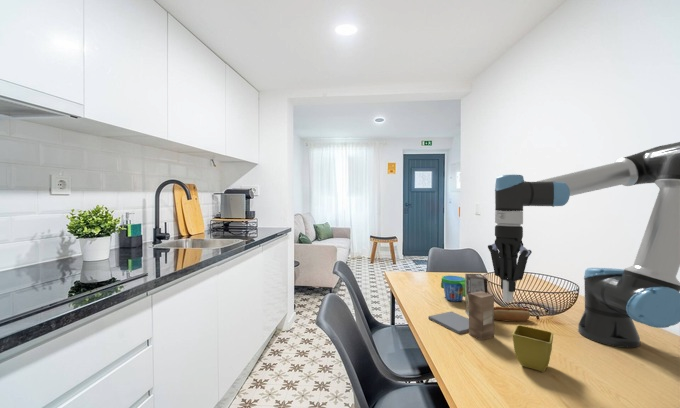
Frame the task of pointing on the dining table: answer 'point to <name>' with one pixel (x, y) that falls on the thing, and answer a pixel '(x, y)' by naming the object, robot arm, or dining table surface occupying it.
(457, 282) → the snack cup
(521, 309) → the food
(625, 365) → the dining table surface
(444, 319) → the mat
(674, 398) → the dining table surface
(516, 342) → the flower pot
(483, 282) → the coffee box
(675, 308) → the robot arm
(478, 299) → the walnut block
